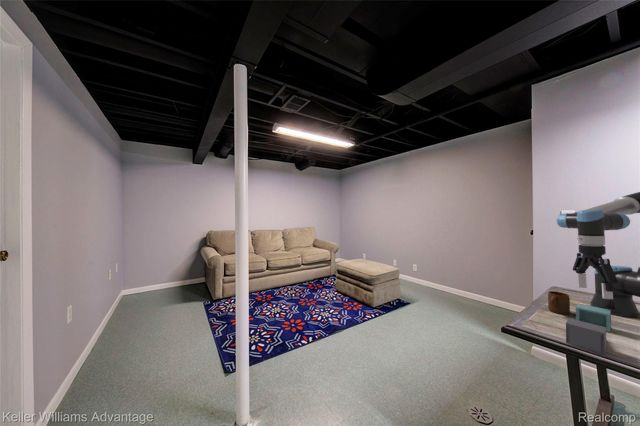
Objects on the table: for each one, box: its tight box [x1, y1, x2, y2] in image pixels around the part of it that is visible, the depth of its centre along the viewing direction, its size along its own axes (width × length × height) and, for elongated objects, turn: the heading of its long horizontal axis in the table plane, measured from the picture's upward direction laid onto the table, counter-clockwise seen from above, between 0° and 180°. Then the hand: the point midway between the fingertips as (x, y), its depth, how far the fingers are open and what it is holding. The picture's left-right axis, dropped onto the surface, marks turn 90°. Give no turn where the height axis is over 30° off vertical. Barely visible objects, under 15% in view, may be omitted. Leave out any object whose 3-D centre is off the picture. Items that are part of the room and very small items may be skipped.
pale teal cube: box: [575, 303, 612, 333], centre depth 100 cm, size 7×9×8 cm
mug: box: [547, 290, 571, 316], centre depth 113 cm, size 12×8×9 cm, turn 118°
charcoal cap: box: [565, 317, 608, 356], centre depth 85 cm, size 7×9×8 cm
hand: (594, 292), depth 98 cm, fingers open, 13 cm apart
